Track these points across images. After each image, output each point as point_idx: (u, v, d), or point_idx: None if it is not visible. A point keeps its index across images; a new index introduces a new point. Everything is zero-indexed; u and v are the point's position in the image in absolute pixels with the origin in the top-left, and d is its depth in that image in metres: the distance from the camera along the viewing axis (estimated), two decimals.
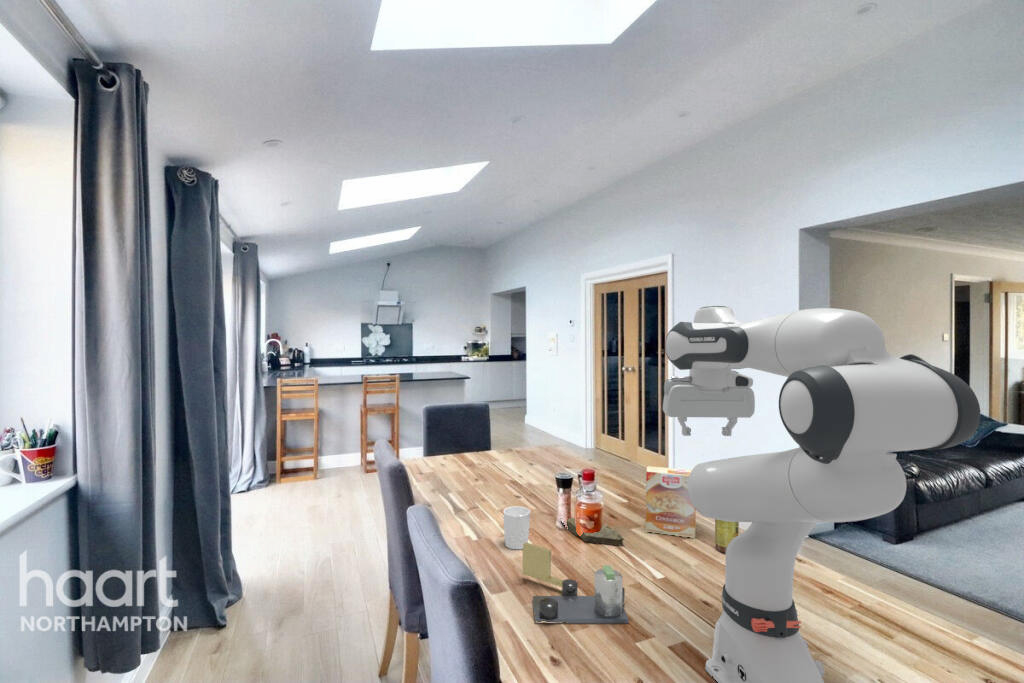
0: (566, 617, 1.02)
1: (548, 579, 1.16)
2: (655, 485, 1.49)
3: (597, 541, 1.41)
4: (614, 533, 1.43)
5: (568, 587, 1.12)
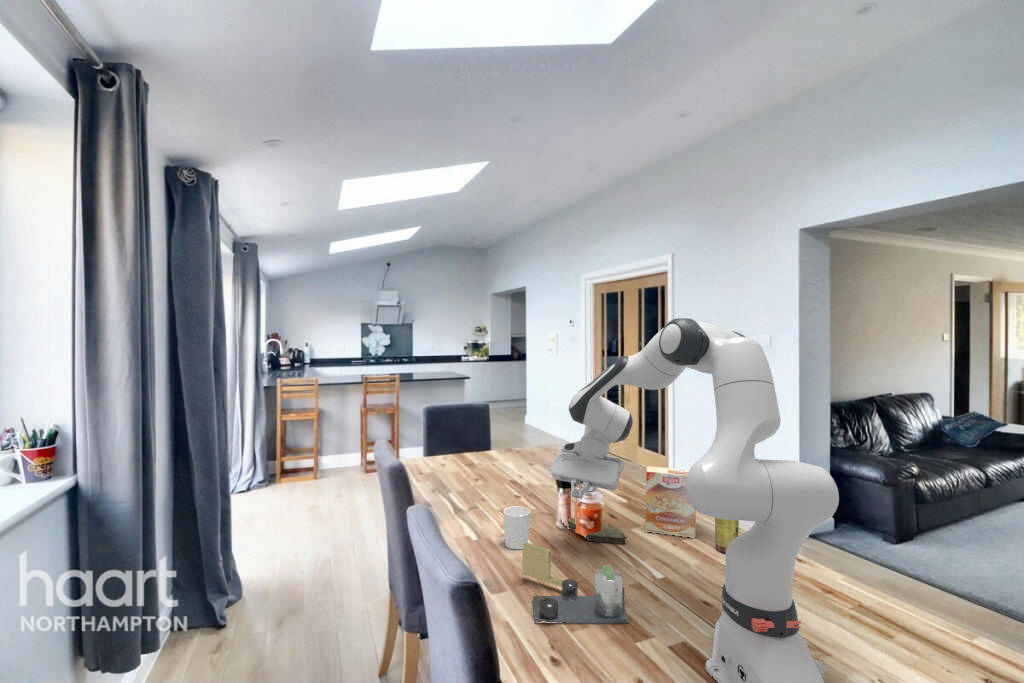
0: (566, 617, 1.02)
1: (548, 579, 1.16)
2: (655, 485, 1.49)
3: (600, 540, 1.42)
4: (616, 532, 1.44)
5: (568, 587, 1.12)
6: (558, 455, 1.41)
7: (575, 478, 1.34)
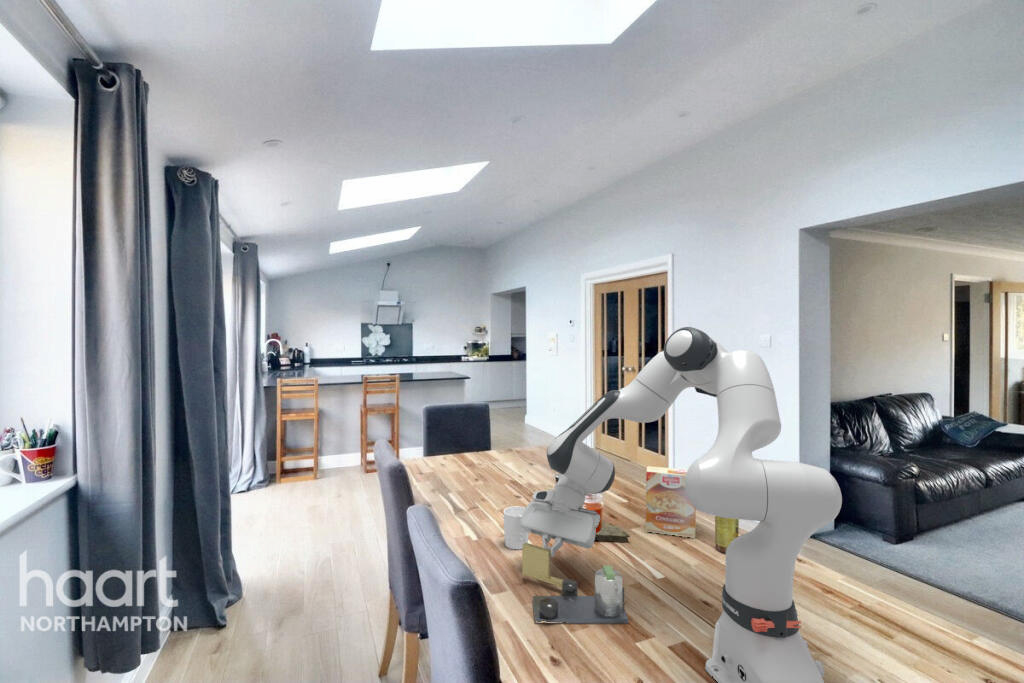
0: (566, 617, 1.02)
1: (548, 579, 1.16)
2: (655, 485, 1.49)
3: (604, 539, 1.43)
4: (619, 530, 1.46)
5: (568, 587, 1.12)
6: (529, 505, 1.27)
7: (547, 533, 1.21)
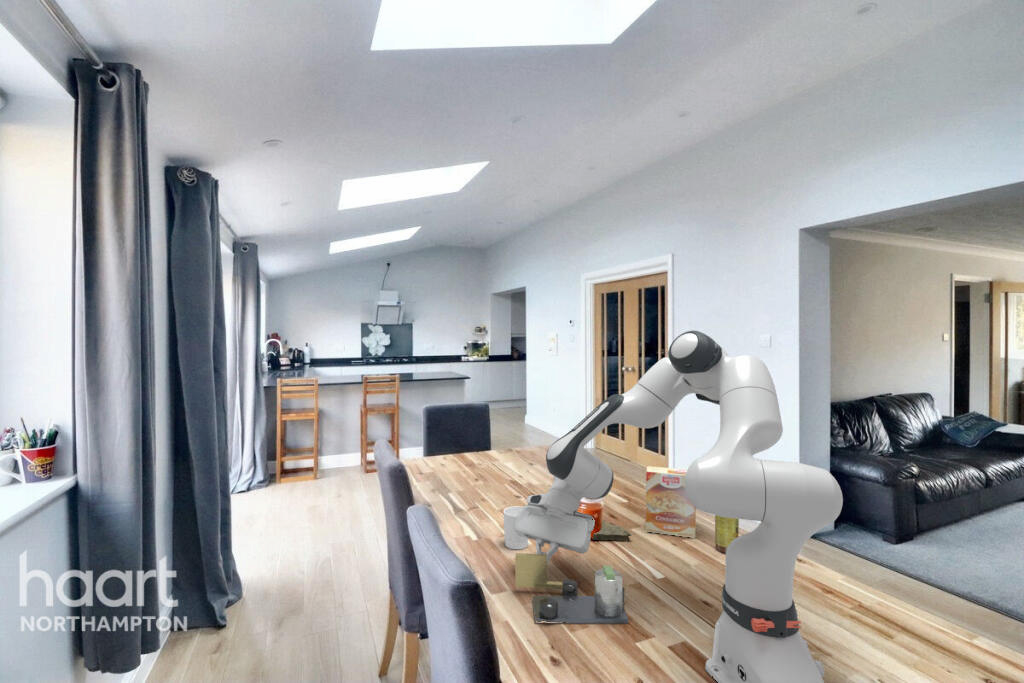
0: (566, 617, 1.02)
1: (546, 585, 1.13)
2: (655, 485, 1.49)
3: (605, 538, 1.43)
4: (620, 529, 1.46)
5: (572, 587, 1.12)
6: (523, 509, 1.25)
7: (541, 538, 1.18)
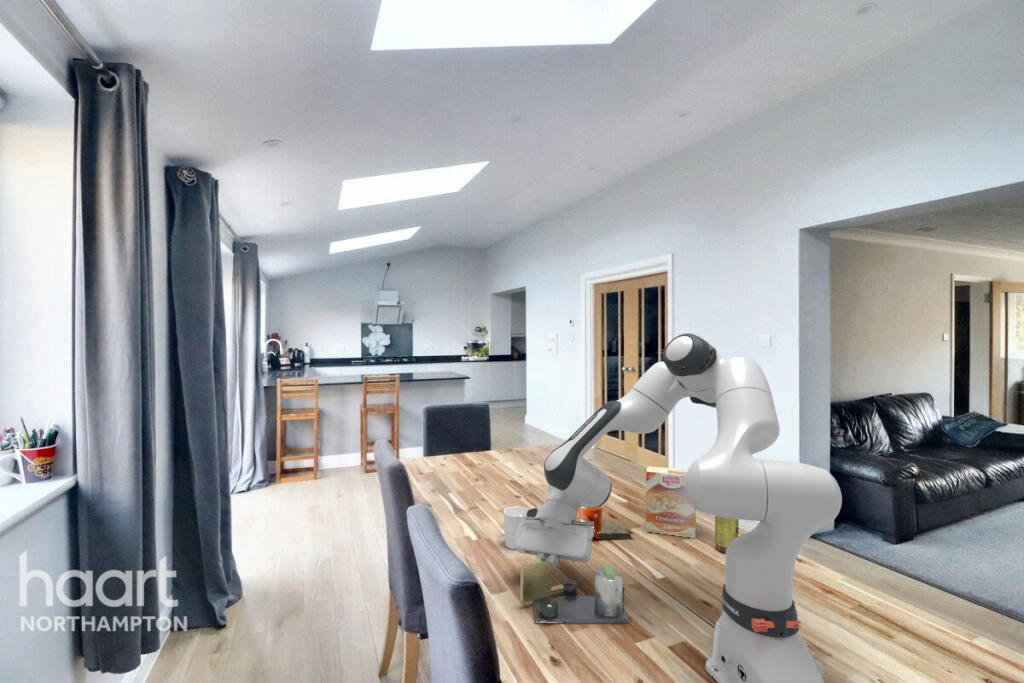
0: (566, 617, 1.02)
1: (551, 591, 1.10)
2: (655, 485, 1.49)
3: (608, 537, 1.44)
4: (621, 527, 1.48)
5: (575, 586, 1.12)
6: (521, 524, 1.22)
7: (541, 552, 1.15)
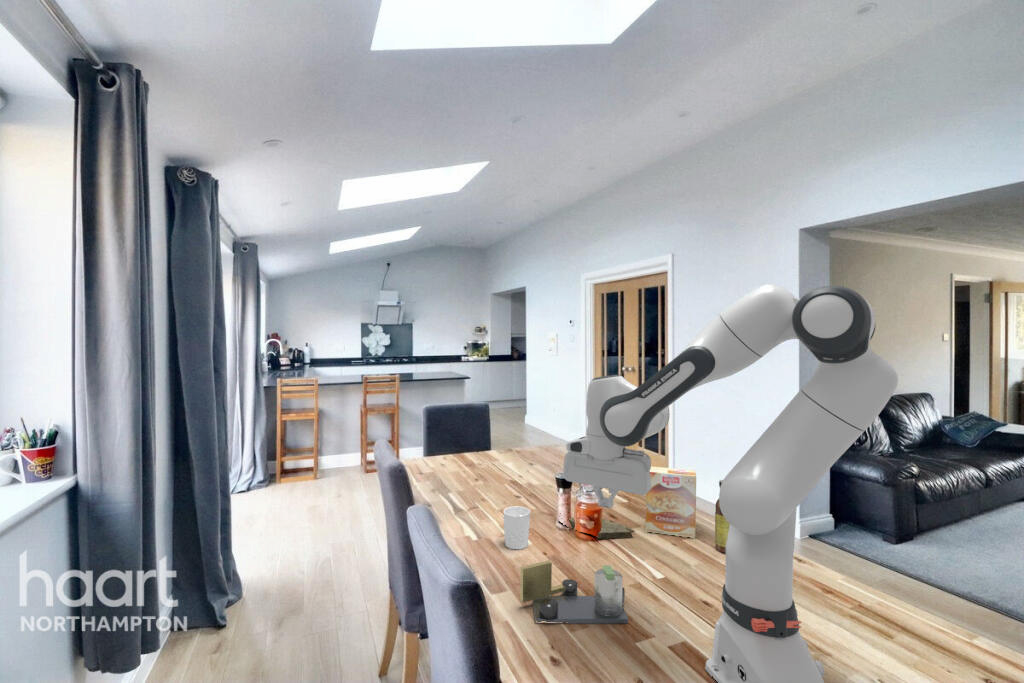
0: (566, 617, 1.02)
1: (551, 591, 1.10)
2: (655, 485, 1.49)
3: (610, 536, 1.45)
4: (621, 526, 1.49)
5: (575, 586, 1.12)
6: (567, 457, 1.11)
7: None
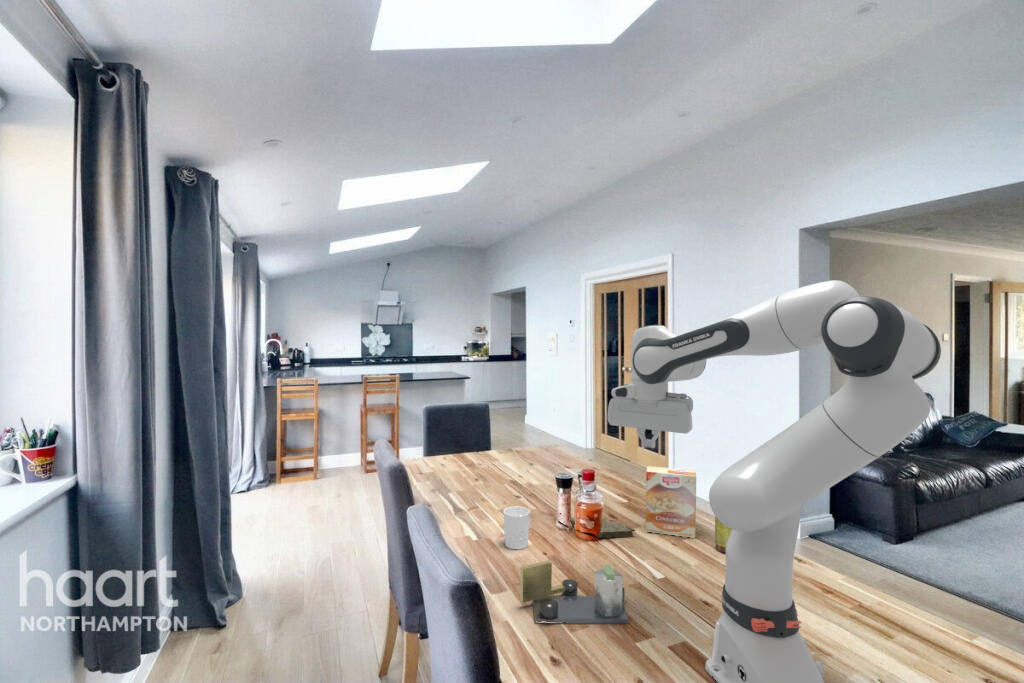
0: (566, 617, 1.02)
1: (551, 591, 1.10)
2: (655, 485, 1.49)
3: (611, 536, 1.45)
4: (622, 525, 1.49)
5: (575, 586, 1.12)
6: (611, 403, 1.20)
7: (641, 428, 1.17)
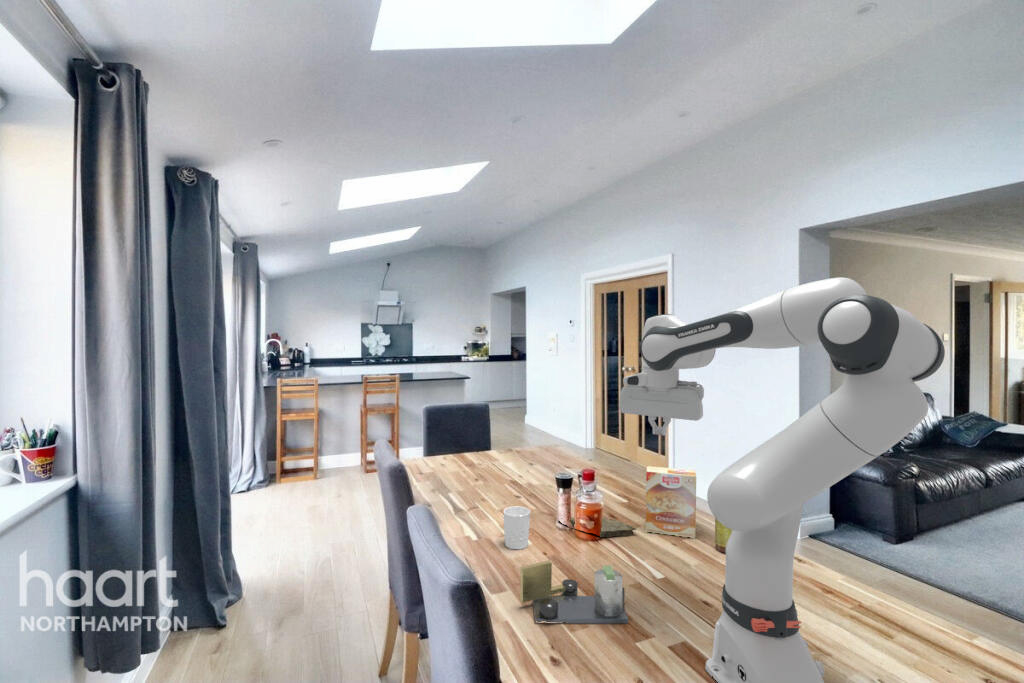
0: (566, 617, 1.02)
1: (551, 591, 1.10)
2: (655, 485, 1.49)
3: (612, 535, 1.46)
4: (622, 524, 1.50)
5: (575, 586, 1.12)
6: (623, 391, 1.22)
7: (652, 416, 1.19)
